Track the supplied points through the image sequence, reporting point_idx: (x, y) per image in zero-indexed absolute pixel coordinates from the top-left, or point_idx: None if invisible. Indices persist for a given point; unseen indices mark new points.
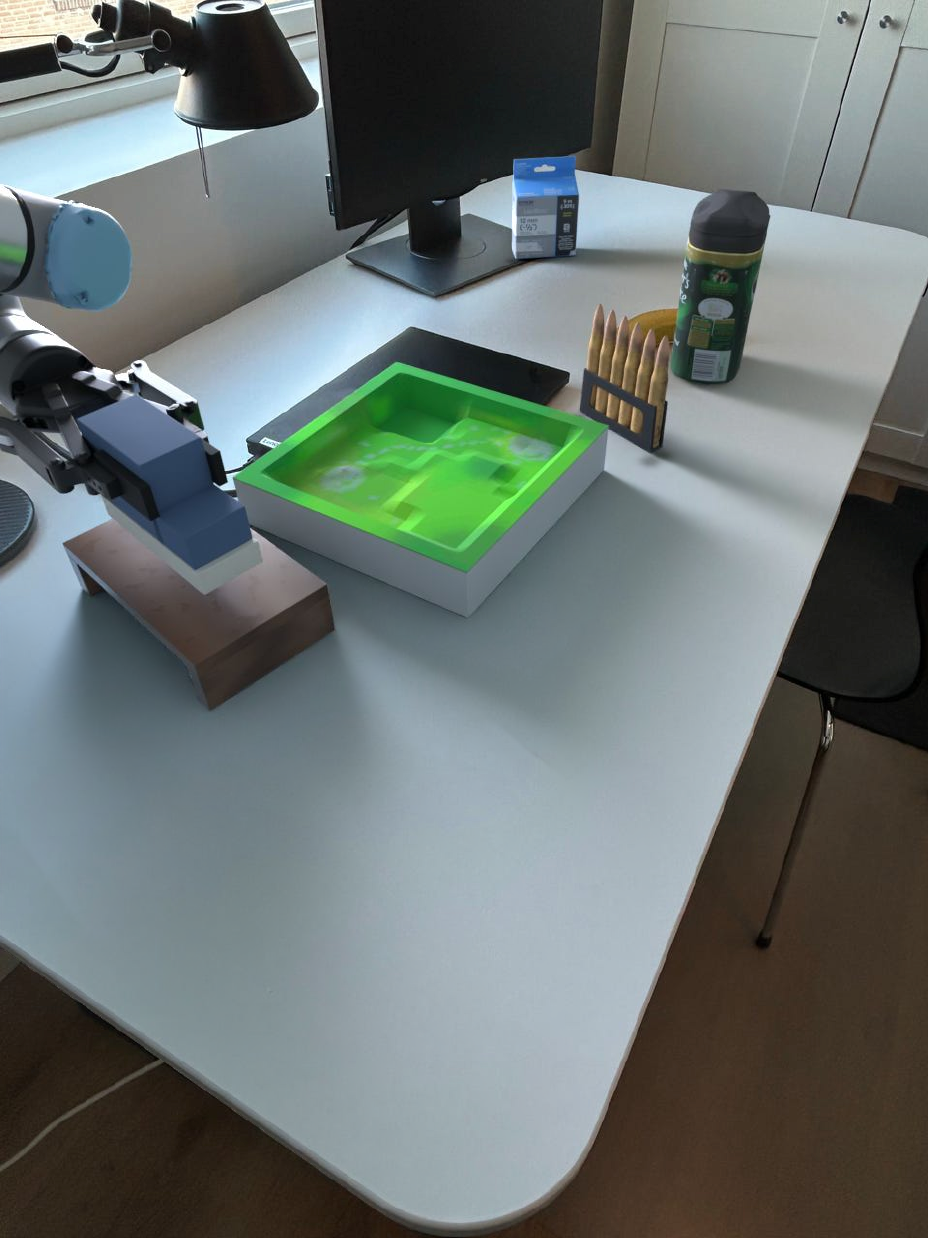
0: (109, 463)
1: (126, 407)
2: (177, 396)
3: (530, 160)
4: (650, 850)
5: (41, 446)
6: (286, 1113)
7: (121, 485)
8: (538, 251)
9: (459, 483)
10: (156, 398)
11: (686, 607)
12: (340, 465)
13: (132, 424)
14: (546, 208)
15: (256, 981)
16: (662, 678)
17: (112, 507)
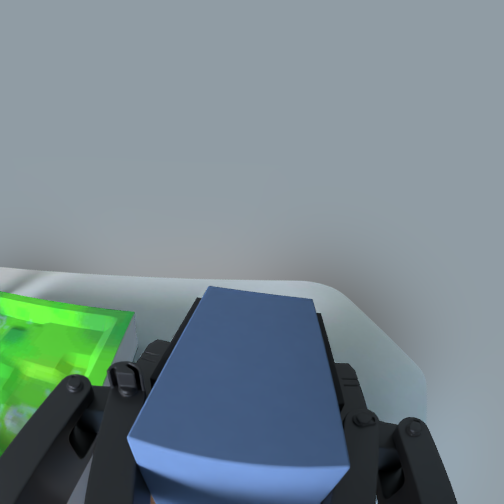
0: (331, 366)
1: (206, 415)
2: (55, 415)
3: None
4: (223, 284)
5: (429, 491)
6: (357, 309)
7: None
8: None
9: (31, 343)
10: (42, 500)
11: (101, 291)
12: (5, 426)
13: (253, 360)
14: None
15: (350, 326)
16: (146, 291)
17: None
